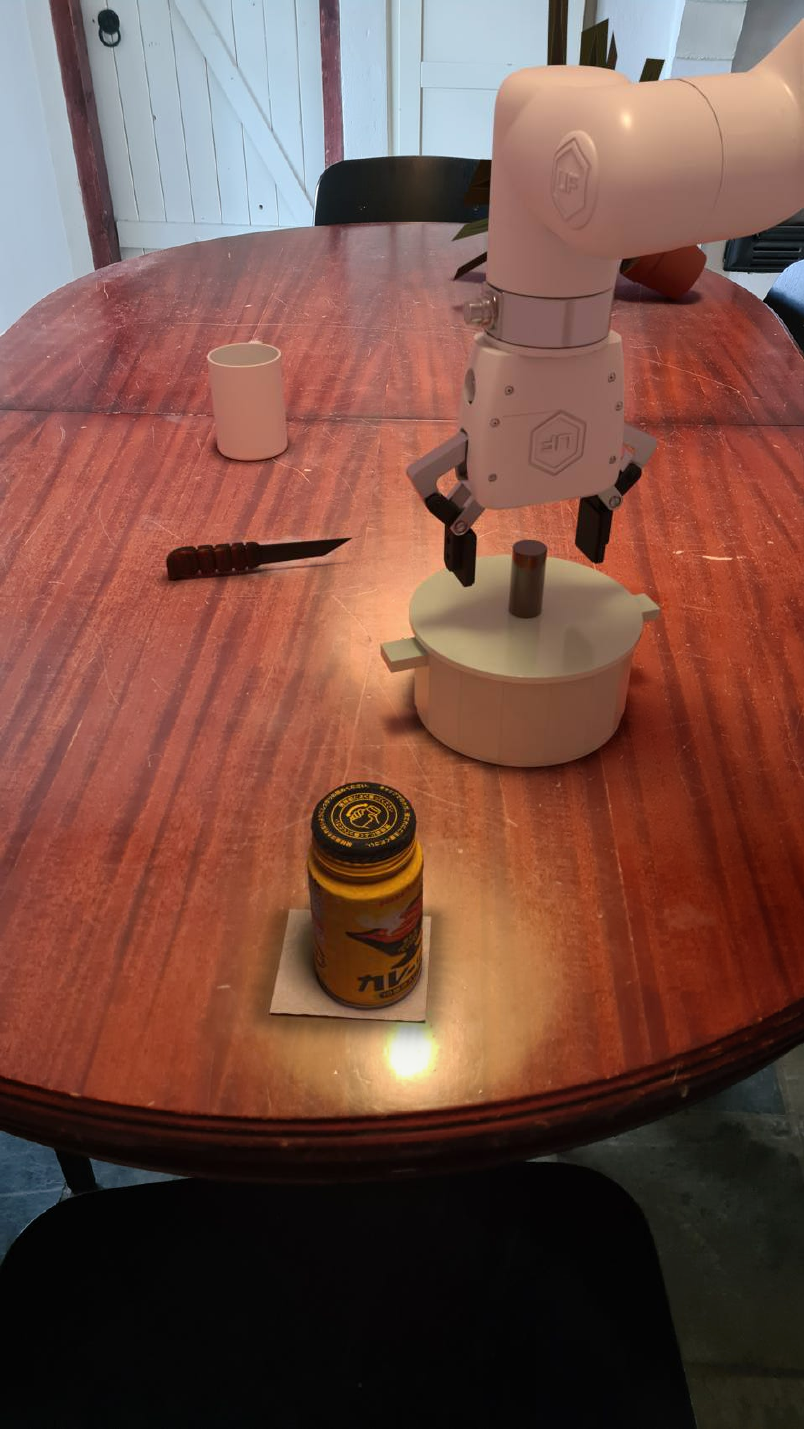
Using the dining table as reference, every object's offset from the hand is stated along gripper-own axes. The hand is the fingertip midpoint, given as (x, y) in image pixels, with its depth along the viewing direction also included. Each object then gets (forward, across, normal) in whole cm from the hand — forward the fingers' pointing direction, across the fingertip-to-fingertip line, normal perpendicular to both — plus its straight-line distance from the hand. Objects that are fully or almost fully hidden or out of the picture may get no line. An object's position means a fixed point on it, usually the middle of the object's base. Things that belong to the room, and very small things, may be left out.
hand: (526, 565), depth 72 cm
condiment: (+12, -19, -20) cm, 30 cm away
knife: (+12, -14, +26) cm, 32 cm away
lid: (+4, 0, 0) cm, 4 cm away
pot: (+12, 0, 0) cm, 12 cm away
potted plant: (+13, +51, +95) cm, 108 cm away
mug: (+12, -8, +56) cm, 58 cm away
